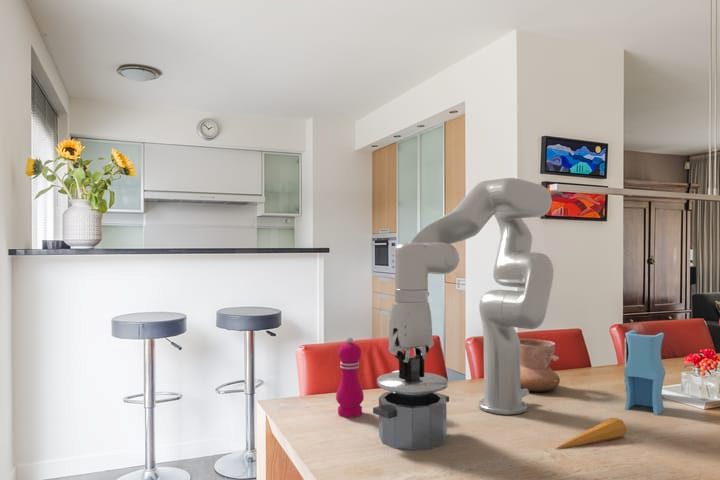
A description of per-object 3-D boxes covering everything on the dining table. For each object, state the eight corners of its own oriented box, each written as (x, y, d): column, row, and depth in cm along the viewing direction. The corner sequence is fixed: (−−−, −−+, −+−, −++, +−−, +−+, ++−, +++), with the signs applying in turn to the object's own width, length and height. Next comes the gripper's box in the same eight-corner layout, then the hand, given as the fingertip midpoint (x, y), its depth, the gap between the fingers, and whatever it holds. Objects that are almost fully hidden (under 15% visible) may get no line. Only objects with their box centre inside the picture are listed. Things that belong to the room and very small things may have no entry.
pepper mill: (360, 418, 135) (360, 339, 135) (333, 417, 136) (332, 339, 136) (366, 410, 142) (365, 335, 142) (339, 408, 143) (339, 334, 143)
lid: (410, 378, 132) (410, 348, 133) (462, 391, 121) (462, 358, 121) (362, 390, 122) (362, 357, 122) (414, 405, 110) (414, 368, 110)
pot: (419, 420, 133) (418, 384, 133) (465, 436, 122) (465, 396, 122) (359, 438, 121) (358, 398, 121) (404, 458, 109) (404, 414, 109)
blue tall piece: (665, 408, 141) (664, 333, 142) (657, 415, 136) (656, 336, 136) (633, 402, 147) (632, 330, 147) (624, 409, 141) (623, 333, 141)
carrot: (618, 436, 123) (610, 416, 124) (633, 435, 119) (625, 414, 120) (551, 460, 115) (544, 438, 116) (565, 459, 111) (558, 437, 112)
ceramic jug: (573, 391, 159) (573, 343, 159) (540, 398, 151) (540, 348, 151) (526, 378, 174) (526, 335, 174) (494, 385, 167) (493, 339, 167)
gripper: (424, 294, 130) (425, 369, 129) (373, 298, 119) (373, 380, 119) (448, 296, 124) (448, 375, 124) (396, 300, 113) (396, 387, 113)
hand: (411, 376), depth 121 cm, fingers closed on lid, 3 cm apart
